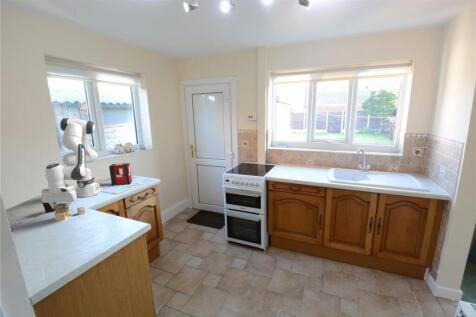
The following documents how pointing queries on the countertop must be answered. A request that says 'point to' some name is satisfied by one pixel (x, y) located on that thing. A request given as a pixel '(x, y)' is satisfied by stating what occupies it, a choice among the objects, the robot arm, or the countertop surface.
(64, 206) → the walnut cube
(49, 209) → the coffee mug
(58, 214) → the oak block
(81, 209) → the maple dowel
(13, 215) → the countertop surface
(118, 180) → the cleaning product box
